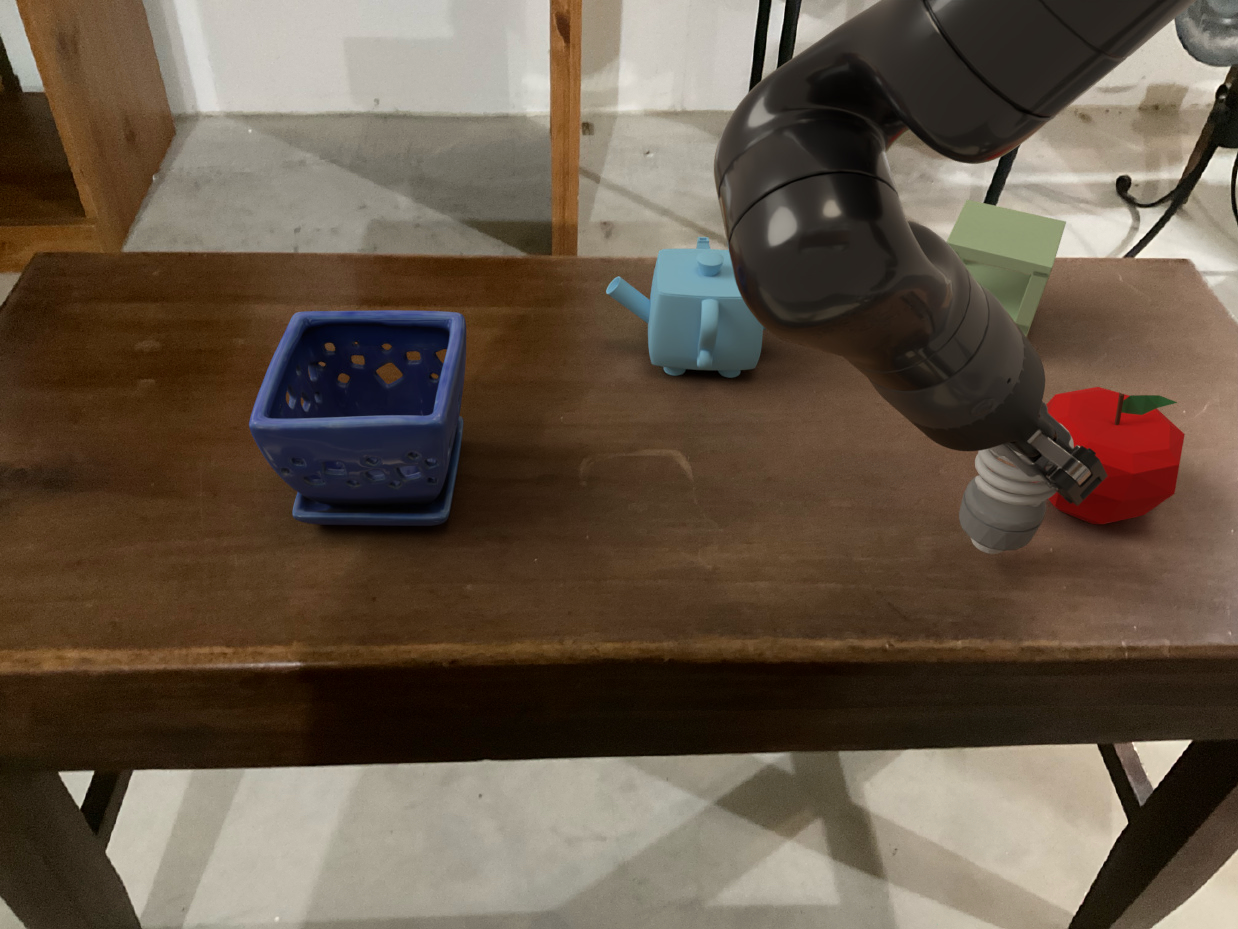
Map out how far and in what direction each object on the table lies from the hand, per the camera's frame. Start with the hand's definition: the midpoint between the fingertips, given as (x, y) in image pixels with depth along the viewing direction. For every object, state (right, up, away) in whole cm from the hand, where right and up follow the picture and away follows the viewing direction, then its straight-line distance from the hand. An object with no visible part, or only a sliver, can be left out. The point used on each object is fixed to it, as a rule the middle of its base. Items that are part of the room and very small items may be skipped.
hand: (1038, 456), depth 64 cm
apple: (+8, -3, +12) cm, 15 cm away
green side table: (+7, +13, +29) cm, 32 cm away
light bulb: (-2, -7, +5) cm, 9 cm away
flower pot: (-46, -2, +11) cm, 47 cm away
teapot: (-20, +10, +25) cm, 34 cm away
